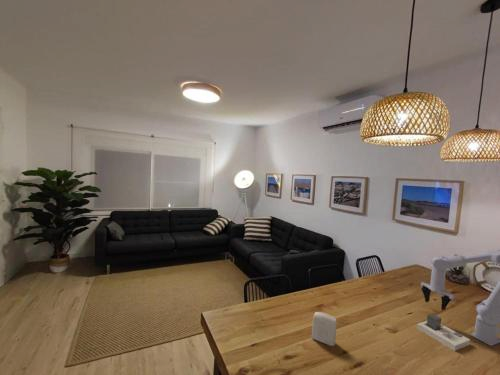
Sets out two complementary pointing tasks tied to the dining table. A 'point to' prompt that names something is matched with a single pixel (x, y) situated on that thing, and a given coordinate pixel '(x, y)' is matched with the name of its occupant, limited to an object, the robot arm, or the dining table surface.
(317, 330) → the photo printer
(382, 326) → the dining table surface
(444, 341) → the sorting tray
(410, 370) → the dining table surface
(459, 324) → the dining table surface
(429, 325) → the plug
